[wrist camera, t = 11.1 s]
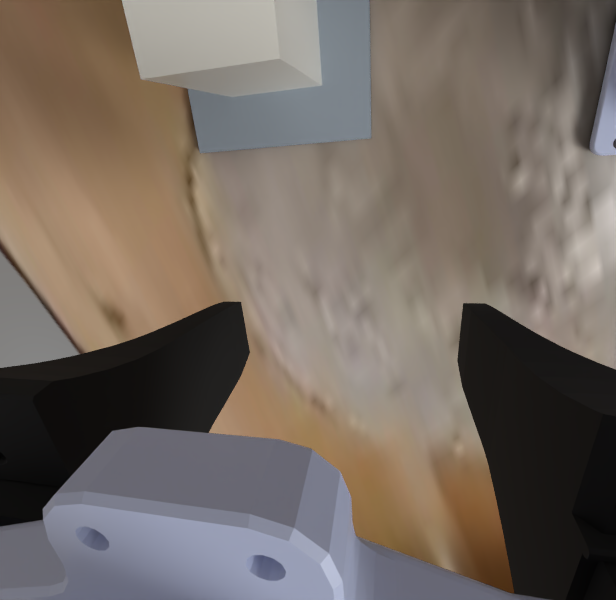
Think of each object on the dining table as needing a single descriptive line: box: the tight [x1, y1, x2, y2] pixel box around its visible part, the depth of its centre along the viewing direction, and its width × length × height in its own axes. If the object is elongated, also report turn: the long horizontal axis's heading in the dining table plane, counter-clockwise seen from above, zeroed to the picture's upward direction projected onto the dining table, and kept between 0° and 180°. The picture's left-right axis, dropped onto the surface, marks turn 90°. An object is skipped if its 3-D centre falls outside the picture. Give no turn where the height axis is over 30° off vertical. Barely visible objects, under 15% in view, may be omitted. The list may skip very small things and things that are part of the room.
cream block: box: [122, 0, 322, 97], centre depth 13 cm, size 4×4×8 cm
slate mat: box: [187, 0, 371, 153], centre depth 17 cm, size 9×9×1 cm
